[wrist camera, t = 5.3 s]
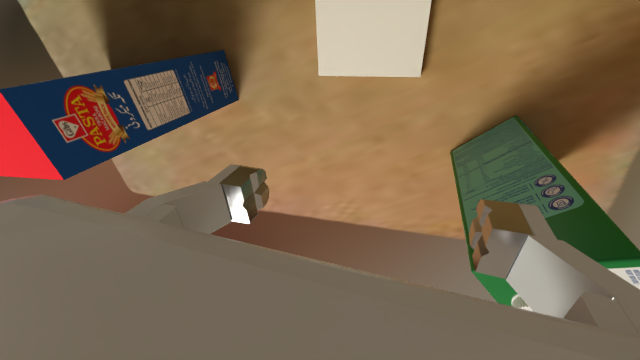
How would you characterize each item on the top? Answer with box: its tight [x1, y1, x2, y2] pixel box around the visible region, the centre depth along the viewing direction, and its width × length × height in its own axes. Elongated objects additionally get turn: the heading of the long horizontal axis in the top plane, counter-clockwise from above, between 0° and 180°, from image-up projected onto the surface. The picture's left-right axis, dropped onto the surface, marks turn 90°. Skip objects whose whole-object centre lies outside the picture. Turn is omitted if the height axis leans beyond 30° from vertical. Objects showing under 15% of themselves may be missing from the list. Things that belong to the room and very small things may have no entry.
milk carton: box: [450, 115, 640, 311], centre depth 27 cm, size 9×9×25 cm
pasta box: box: [0, 50, 239, 180], centre depth 38 cm, size 28×8×28 cm, turn 100°
